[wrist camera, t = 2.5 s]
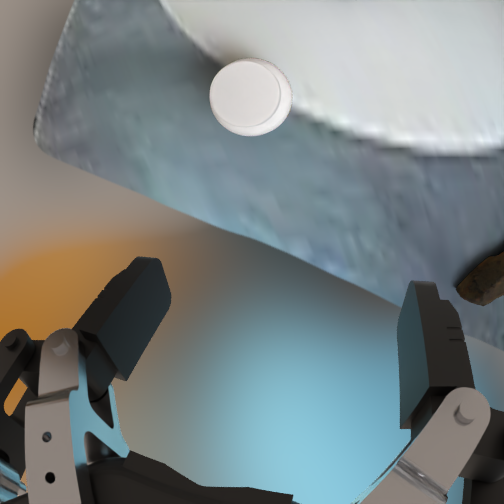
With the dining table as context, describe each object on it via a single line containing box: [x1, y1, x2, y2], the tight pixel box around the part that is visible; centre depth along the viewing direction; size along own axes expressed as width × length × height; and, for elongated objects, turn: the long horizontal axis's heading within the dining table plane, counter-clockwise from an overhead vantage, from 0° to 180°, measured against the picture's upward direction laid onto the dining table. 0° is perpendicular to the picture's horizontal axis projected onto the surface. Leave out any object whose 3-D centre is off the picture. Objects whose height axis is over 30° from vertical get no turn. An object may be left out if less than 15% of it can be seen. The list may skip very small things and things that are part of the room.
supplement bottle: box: [210, 58, 292, 136], centre depth 20 cm, size 5×5×10 cm
